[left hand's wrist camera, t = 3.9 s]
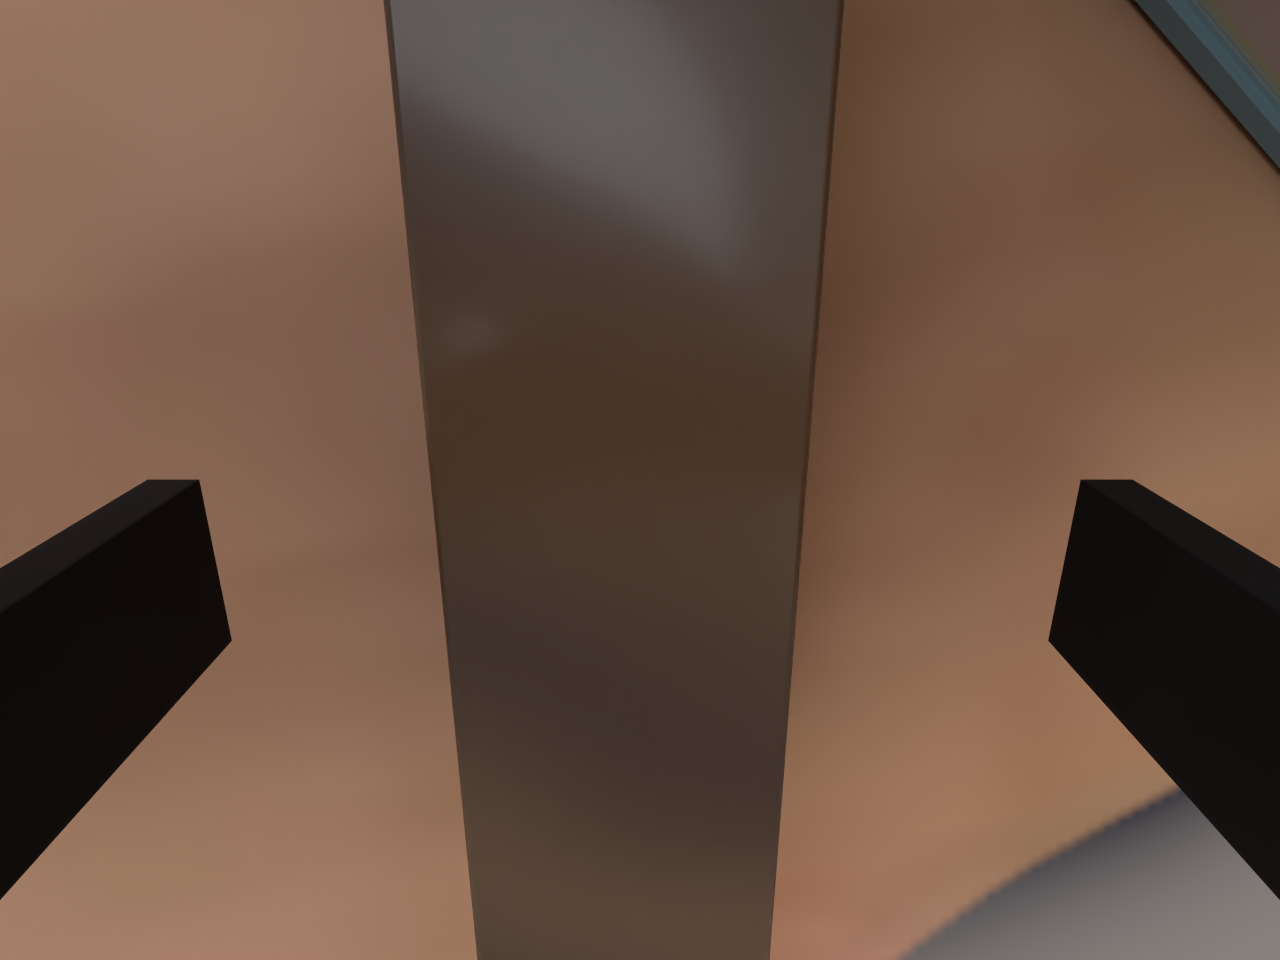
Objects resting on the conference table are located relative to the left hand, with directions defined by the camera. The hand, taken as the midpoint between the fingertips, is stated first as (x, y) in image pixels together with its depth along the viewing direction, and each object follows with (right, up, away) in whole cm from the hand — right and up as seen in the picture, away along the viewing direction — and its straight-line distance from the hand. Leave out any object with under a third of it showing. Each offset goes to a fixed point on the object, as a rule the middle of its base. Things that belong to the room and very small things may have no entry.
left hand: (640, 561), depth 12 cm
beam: (0, +21, -2) cm, 21 cm away
